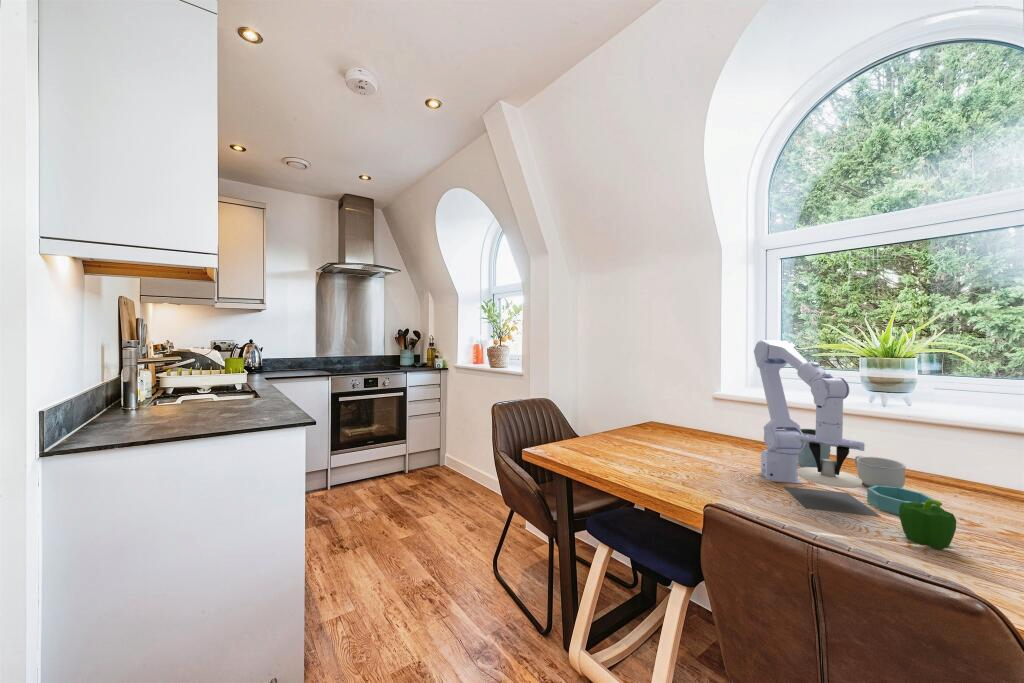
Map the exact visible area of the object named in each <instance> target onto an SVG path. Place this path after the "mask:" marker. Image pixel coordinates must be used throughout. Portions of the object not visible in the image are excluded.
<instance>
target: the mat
mask: <svg viewBox="0 0 1024 683" xmlns="http://www.w3.org/2000/svg"><path fill="white" fill-rule="evenodd" d="M783 488H784V489H785V491H787V492H788V493H789V494H790V495H791V496H792V497H793V498H794V499H795V500H796V501H798V503H799V504H800V505H802V507H804V509H807V510H817V511H825V512H835V513H843V514H852V515H860V516H861V515H862V516H871V517H881V518H882V516H881V515H880V514H878V513H877V512H876V511H874V510H873V509H872V508H870V507H869V506H867V505H866V504H864V503H863V502H862V501H860V500H859V499H857V498H856V497H854V496H853V495H852V494H850V493H848V492H842V491H841V492H840V491H831V490H821V489H813V488H801V487H790V486H783Z"/></svg>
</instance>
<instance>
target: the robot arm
mask: <svg viewBox="0 0 1024 683" xmlns="http://www.w3.org/2000/svg"><path fill="white" fill-rule="evenodd" d="M753 353H754V358H755V362H756V366H757V368H759V373H760V377H761V382H762V387H763V391H764V396H765V400H766V404H767V409H768V414H769V417H770V420H769V421H768V422H767V423H765V425H764V426H763V442H764V444H765V446H766V447H767V449H763V450H762V451H761V454H760V455H761V456H760V458H761V460H760V474H761V475H762V476H763V477H764V478H765V479H766V480H767V481H772V482H780V483H781V482H782V483H791V484H792V483H793V484H804V482H803V481H801V479H800V478H798V477H799V476H798V475H797V474H796V470H797V469H798V468H799V463H798V453H801V450H802V449H803V448H804V446H805V443H809V447H810V450H811V451H812V453H813V456H814V458H815V461H816V464H817V469H818V472H821V463H820V452H821V449H820V445H826V446H831V447H834V448H836V452H835V453H836V455H835V456H836V459H835V461H836V475H839V472H840V471H841V468H842V466H843V465H844V464H843V463H844V461H845V460H846V459H847V457H848V455H849V454H850V450H857V451H860V452H861V451H862V452H865V446H866V445H865V443H864V442H863V441H856V440H851V439H845V438H843V424H844V423H843V422H844V421H843V419H844V416H843V415H844V400H845V399H846V398H848V396H849V394H850V386H849V383H848V382H847V380H845V378H843V377H836V376H832V374H831V373H830V372H828V371H826V370H825V369H824V368H823V367H822V366H820V365H821V364H820V363H818V362H813V361H808V360H807V359H806V358H804V356H803V355H801V353H799V352H798V351H797V346H796V344H794V343H793V342H792V341H791V340H763V339H761V340H759V341H757V343H756V344H755V347H754V350H753ZM787 364H789V365H790V366H791V367H792V368H794V369H795V370H796V371H797V372H796V374H797V376H798V378H799V379H801V380H802V381H803V382H805V384H806V385H807V386H809V388H810V392H811V395H812V396H813V403H814V405H815V429H816V436H814V435H803V433H802V431H801V429H802V428H801V426H800V424H799V423H797V422H795V421H794V420H793V419H791V416H790V412H789V408H788V404H787V400H786V395H785V392H784V387H783V383H782V378H781V375H780V371H781V369H784V368H785V367H786V365H787ZM820 442H821V443H820Z"/></svg>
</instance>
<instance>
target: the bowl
mask: <svg viewBox="0 0 1024 683" xmlns="http://www.w3.org/2000/svg"><path fill="white" fill-rule="evenodd" d="M866 493H867V494H866V497H867V498H866V502H868V503H869V504H870V505H872V506H874V508H876V509H877V510H880V511H883V512H887V513H891V514H895V515H898V516H899V506H900V505H901V503H910V502H915V501H918V502H921V503H923V504H925V502H926V501H927V500H932V499H933V500H935V498H932V497H931V496H928V495H927V494H925V493H923V492H919V491H914V490H910V489H906V488H903V487H902V488H899V487H890V486H879V485H875V486H872V487H869V486H868V487H867V490H866ZM932 505H936V504H932ZM936 506H937V505H936Z"/></svg>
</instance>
